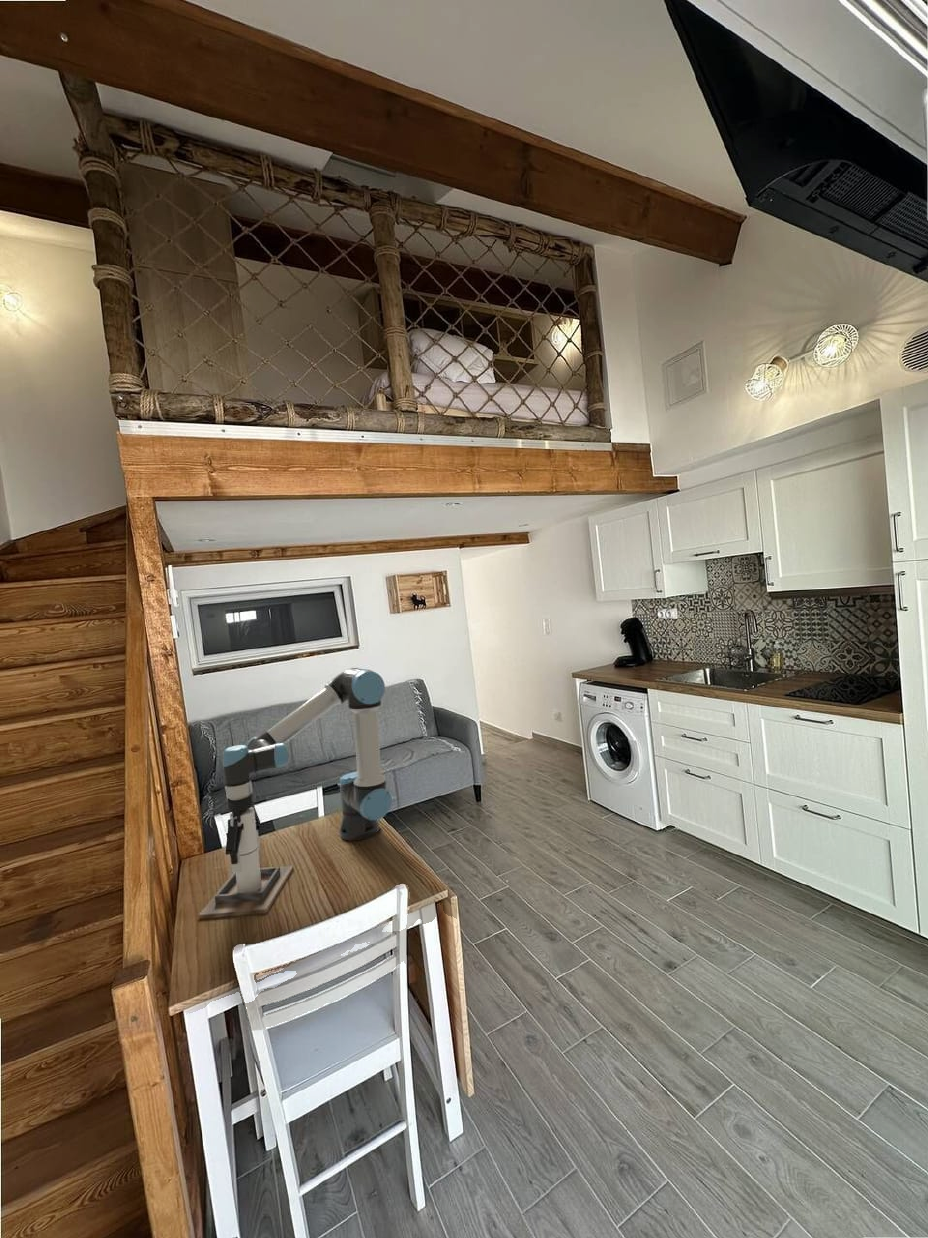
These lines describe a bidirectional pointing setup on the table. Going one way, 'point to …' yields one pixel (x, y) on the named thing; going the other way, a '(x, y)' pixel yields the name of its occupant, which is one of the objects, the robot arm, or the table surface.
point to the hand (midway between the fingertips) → (246, 861)
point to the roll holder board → (247, 895)
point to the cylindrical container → (248, 854)
